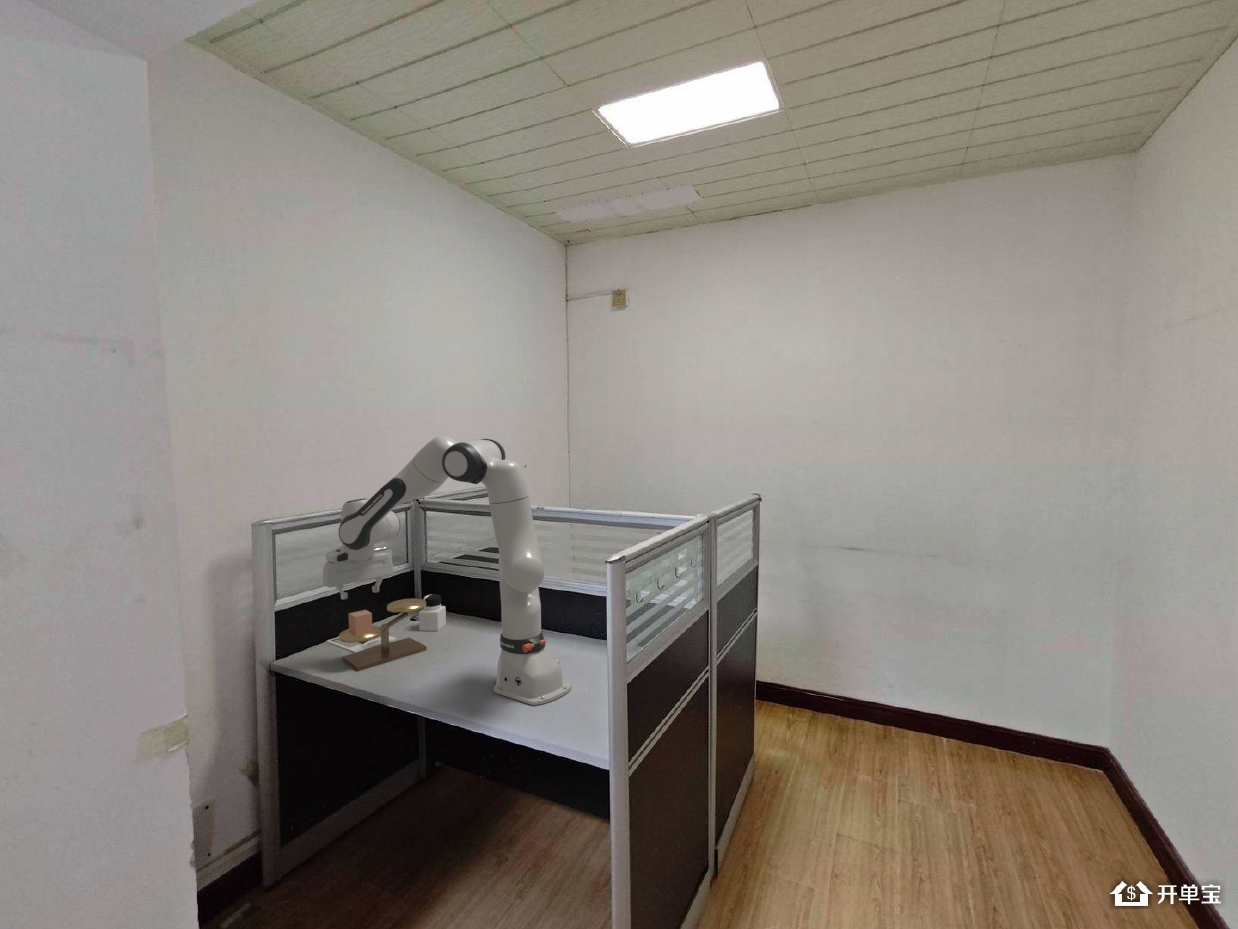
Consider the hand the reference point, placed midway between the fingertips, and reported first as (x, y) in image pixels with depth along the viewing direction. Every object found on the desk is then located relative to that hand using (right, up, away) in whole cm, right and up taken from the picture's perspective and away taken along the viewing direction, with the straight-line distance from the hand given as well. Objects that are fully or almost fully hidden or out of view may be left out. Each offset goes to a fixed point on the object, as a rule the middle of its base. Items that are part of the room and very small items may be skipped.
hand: (360, 595), depth 169 cm
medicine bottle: (+12, -20, +31) cm, 39 cm away
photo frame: (-8, -21, +19) cm, 29 cm away
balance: (+5, -21, +6) cm, 22 cm away
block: (0, -12, 0) cm, 12 cm away
